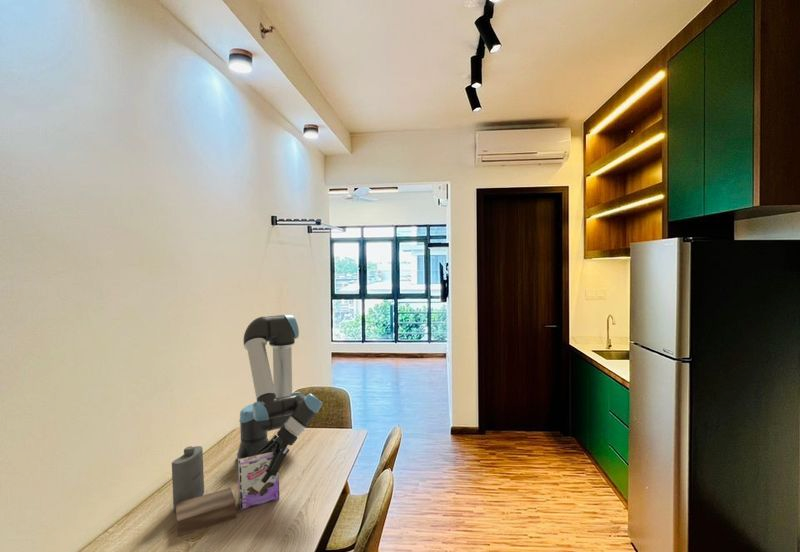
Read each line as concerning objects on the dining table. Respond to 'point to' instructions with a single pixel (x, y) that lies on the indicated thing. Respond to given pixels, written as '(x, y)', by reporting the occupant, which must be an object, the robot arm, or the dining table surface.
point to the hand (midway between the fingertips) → (251, 481)
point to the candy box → (250, 474)
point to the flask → (188, 475)
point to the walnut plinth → (205, 511)
